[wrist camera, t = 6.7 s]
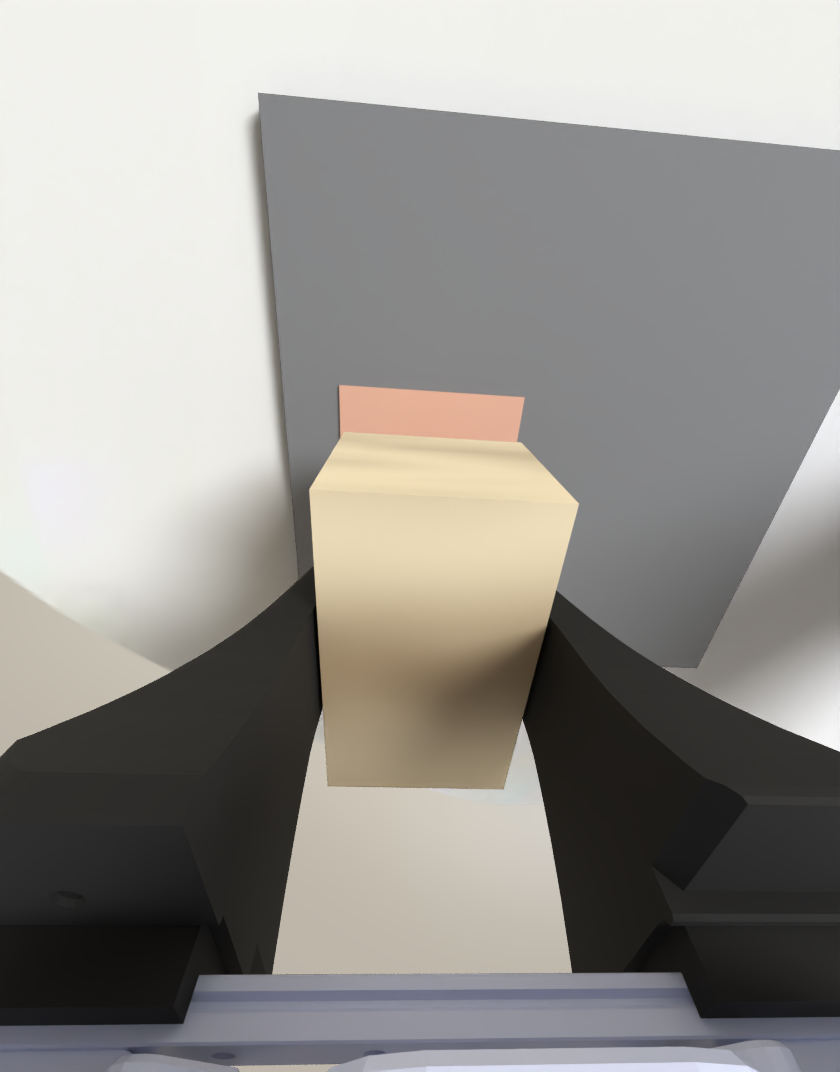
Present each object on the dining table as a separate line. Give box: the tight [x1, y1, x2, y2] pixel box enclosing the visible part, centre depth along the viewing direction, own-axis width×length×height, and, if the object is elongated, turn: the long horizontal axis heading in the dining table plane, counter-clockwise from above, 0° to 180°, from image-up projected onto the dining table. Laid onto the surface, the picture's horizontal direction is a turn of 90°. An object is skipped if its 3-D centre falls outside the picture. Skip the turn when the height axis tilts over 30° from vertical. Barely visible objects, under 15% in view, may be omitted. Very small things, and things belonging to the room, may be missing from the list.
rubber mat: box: [258, 93, 840, 668], centre depth 14 cm, size 17×17×1 cm
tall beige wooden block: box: [309, 432, 579, 789], centre depth 10 cm, size 8×4×4 cm, turn 176°
